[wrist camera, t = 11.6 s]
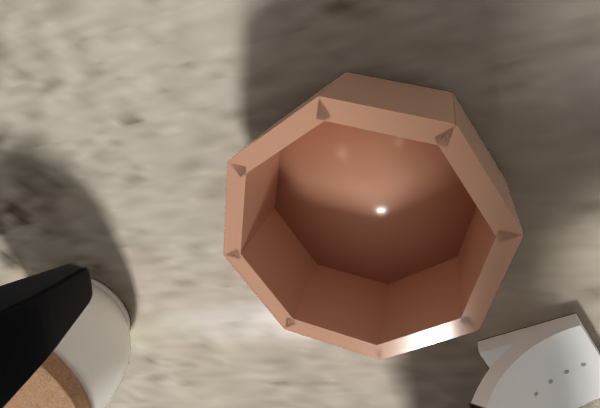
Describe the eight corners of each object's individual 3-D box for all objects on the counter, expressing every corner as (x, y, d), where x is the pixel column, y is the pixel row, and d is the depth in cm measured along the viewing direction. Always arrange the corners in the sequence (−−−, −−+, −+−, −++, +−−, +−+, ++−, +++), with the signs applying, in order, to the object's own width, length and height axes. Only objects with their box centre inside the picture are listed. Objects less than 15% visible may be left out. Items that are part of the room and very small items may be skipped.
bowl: (533, 106, 17) (565, 146, 13) (451, 307, 22) (454, 383, 18) (278, 57, 19) (231, 77, 15) (259, 252, 24) (221, 308, 20)
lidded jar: (162, 378, 33) (73, 503, 25) (50, 339, 35) (-65, 442, 27) (153, 271, 28) (37, 385, 20) (21, 232, 30) (-131, 321, 22)
